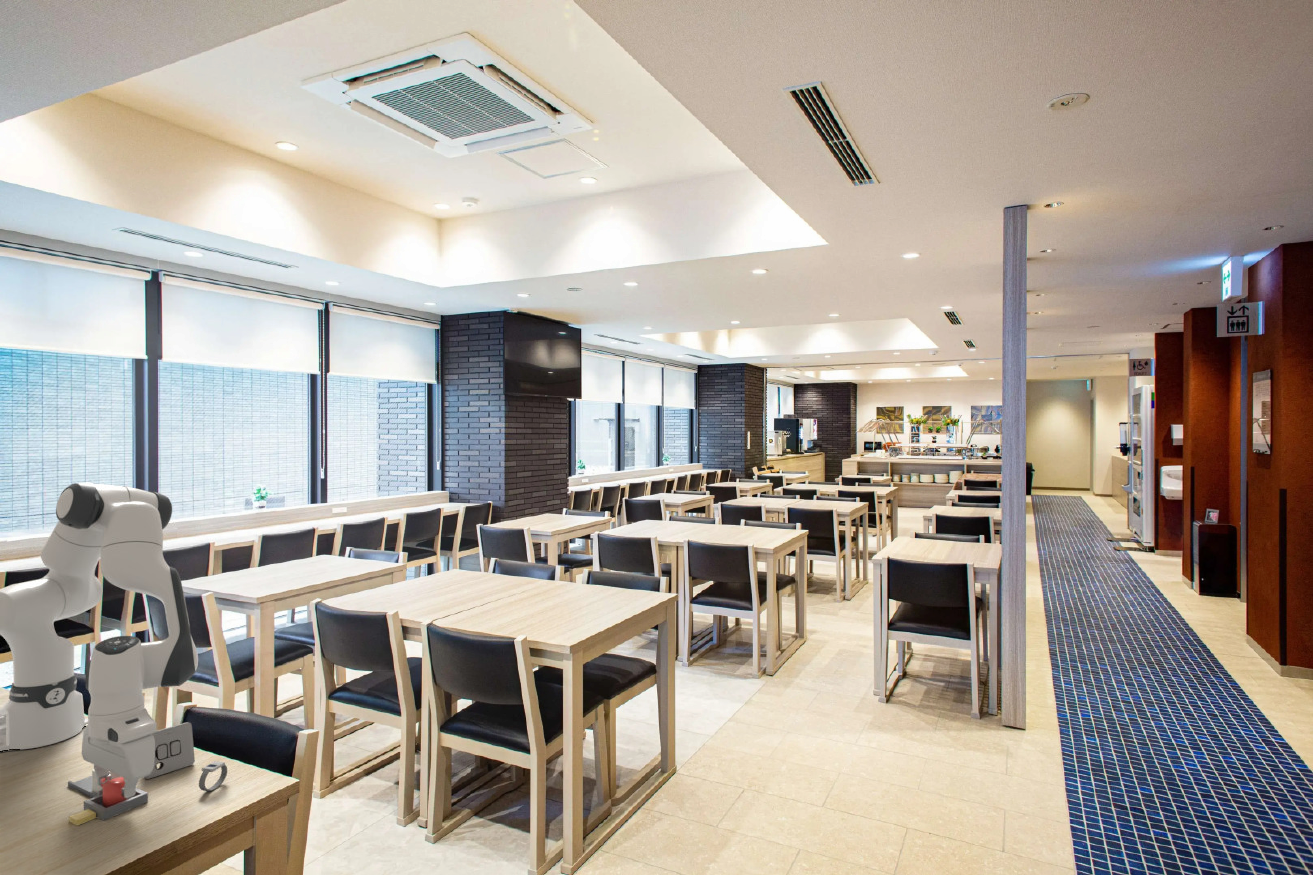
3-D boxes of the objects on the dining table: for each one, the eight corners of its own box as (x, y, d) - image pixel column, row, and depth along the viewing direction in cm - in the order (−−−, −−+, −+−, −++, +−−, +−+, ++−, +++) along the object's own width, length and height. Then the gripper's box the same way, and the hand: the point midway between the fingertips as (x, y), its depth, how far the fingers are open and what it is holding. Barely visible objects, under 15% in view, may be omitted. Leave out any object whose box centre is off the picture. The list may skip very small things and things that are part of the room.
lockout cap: (101, 804, 135) (101, 782, 135) (126, 797, 138) (126, 774, 138) (104, 812, 133) (104, 789, 133) (130, 804, 135) (130, 781, 135)
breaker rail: (67, 786, 143) (67, 776, 143) (98, 774, 148) (98, 765, 148) (99, 801, 137) (99, 791, 137) (129, 789, 142) (129, 779, 142)
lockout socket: (63, 818, 131) (63, 809, 131) (127, 792, 140) (128, 783, 140) (83, 828, 127) (83, 819, 127) (147, 801, 137) (147, 792, 137)
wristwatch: (219, 780, 146) (219, 757, 146) (230, 782, 145) (230, 758, 145) (195, 795, 140) (195, 771, 140) (206, 796, 139) (206, 772, 139)
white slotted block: (91, 791, 140) (92, 769, 140) (114, 783, 143) (114, 761, 143) (101, 796, 138) (102, 773, 138) (124, 787, 141) (124, 765, 142)
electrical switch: (145, 781, 145) (144, 736, 146) (137, 776, 149) (137, 732, 149) (195, 765, 153) (194, 722, 153) (187, 760, 156) (186, 719, 157)
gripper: (71, 716, 137) (71, 785, 137) (125, 737, 128) (124, 810, 128) (108, 706, 143) (108, 771, 143) (162, 725, 134) (161, 795, 134)
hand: (116, 790), depth 135 cm, fingers open, 8 cm apart
